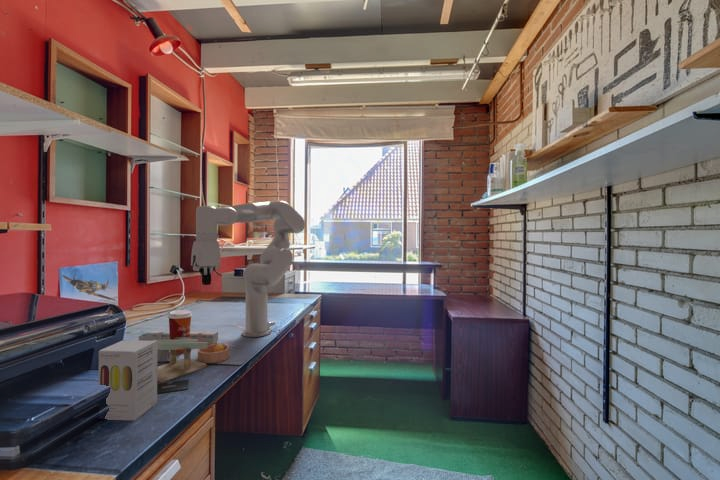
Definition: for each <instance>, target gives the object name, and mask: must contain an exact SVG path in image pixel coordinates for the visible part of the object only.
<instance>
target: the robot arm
mask: <svg viewBox="0 0 720 480" xmlns="http://www.w3.org/2000/svg"><path fill="white" fill-rule="evenodd" d="M195 210H196V211H195V240H194V241H193V244H192V246H191V247H192V249H191V257H190V265H191V266H192V270H193V271H197V272H198V273H199V274H200V275H201V284H202V285H203V286H209V285H212V275H213V273H214V271H215V270H217V269H220V264H221V248H220V244H219V241H218V239H220V235H219V234H218V226H232V225H234V224H235V223H240V224H242V223H243V224H245V223H248V224H249V223H257V222H263V221H264V222H265V221H269V220H274V222H273V231H274V232H273V233H274V235H273V236H274V237H273V239H272V241H271V242H270V243H269V244H268V245H267V247H266V248H265V249H264V250H263V251H262V253H261V254H260V257H259V261H260V263H251V264H249V265H247V266H245V268H244V270H243V275H242V276H243V282H244V286H245V287H244V289H245V328H244V330H242V331H241V335H242V336H244V337H247V338H258V337H265V336H268V335H270V334H271V332H272V330H271V327H272V326H275V325H276V322H275V320H272V321H268V303H269V302H268V298H269V297H268V295H269V294H268V289H267V287H274V286H276V285H277V284H278V283H279V282H280V281H281V280H282V278H283V277H284V275H285V274H286V272H287V271H288V270H289V269H290V267H291V266H292V263H293V261H294V259H293V258H294V257H293V253H292V251H291V250H290V249H289V248H290V246H291V242H290V237H289V234H299V233H302V232H303V231H304V229H305V226H306V223H305V222H306V221H305V220H304V218H303V216H302V215H301V213H299V212H298V211H297V210H296V209H295V208H294V207H293V206H292V205H290V203H288V202H287V201H284V200H274V201H273V200H270V201H259V202H250V203H249V202H248V203H241V204H236V205H228V206H226V205H225V206H218V207H217V206H211V205H199V206H197V207H196V209H195Z"/></svg>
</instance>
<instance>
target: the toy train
mask: <svg viewBox="0 0 720 480" xmlns="http://www.w3.org/2000/svg"><path fill="white" fill-rule="evenodd" d="M189 338H191V339H197V340H198V342H208V345H211V344H218V343H217V342H219V331H207V330H202V331H200V330H199V331H198V330H197V331H196V330H190V337H189ZM138 340H142V341H151V340H170V332H169V329H168V330H167V329H165V330H164V329H163V330H161V329H160V330H158V329H155V330H150V331H146V332H143V333H142V334H140V335H139V336H138Z"/></svg>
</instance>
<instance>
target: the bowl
mask: <svg viewBox="0 0 720 480" xmlns="http://www.w3.org/2000/svg"><path fill="white" fill-rule="evenodd" d="M217 345H222V346H223V347H224V350H223V351H220V352H214V348H215V346H217ZM228 357H229V358H230V346H229V345H228V344H225V343H216V344H211V345H209V344H208V345H207V349H197V361H199V362H202V363H205V364H215V363H220V362H224V361H226V360H227V358H228ZM229 358H228V359H229ZM223 360H224V361H223Z"/></svg>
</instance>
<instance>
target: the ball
mask: <svg viewBox="0 0 720 480" xmlns="http://www.w3.org/2000/svg"><path fill="white" fill-rule="evenodd" d="M223 350H224V347H223V346H222V345H217V346H215V348H214V352H220V351H223Z"/></svg>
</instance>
